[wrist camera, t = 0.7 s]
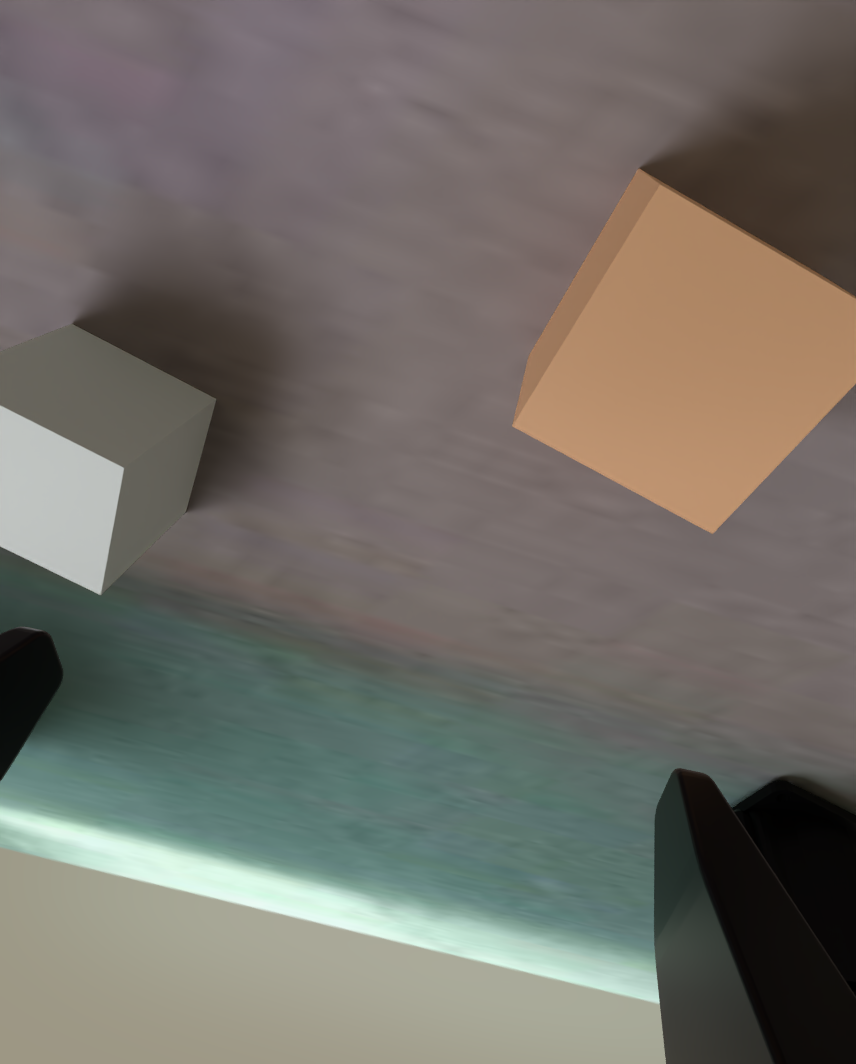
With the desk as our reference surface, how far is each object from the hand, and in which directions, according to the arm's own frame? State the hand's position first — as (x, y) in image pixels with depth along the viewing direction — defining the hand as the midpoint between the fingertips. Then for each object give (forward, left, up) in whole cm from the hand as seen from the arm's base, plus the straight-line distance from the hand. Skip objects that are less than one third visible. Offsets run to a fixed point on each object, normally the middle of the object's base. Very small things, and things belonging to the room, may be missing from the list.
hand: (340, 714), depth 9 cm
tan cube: (-3, -5, -12) cm, 13 cm away
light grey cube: (+10, +6, -12) cm, 17 cm away
